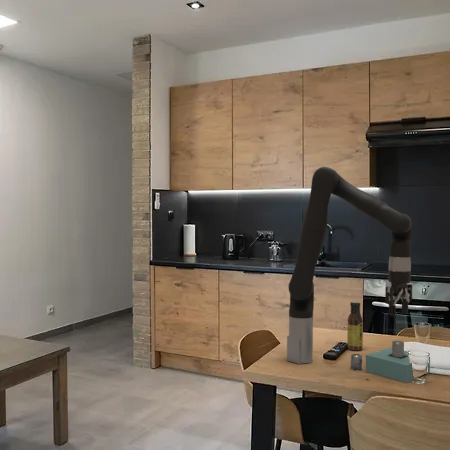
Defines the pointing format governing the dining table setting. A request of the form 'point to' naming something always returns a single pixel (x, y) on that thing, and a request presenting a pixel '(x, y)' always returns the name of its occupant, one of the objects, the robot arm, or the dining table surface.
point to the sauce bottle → (355, 327)
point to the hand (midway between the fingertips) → (398, 314)
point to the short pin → (356, 361)
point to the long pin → (398, 349)
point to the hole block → (390, 365)
